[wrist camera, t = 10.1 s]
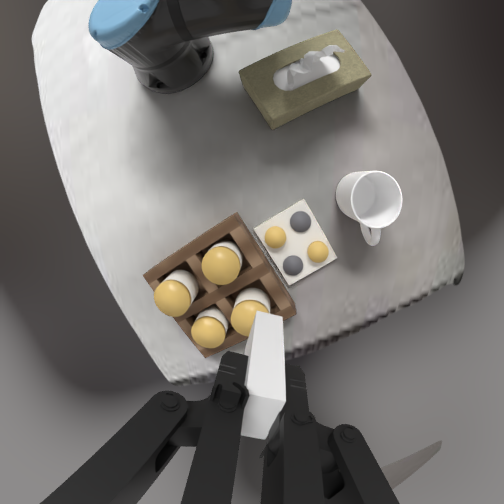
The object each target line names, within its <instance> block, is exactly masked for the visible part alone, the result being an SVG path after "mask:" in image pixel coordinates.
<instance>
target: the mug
mask: <svg viewBox="0 0 504 504" xmlns="http://www.w3.org/2000/svg"><path fill="white" fill-rule="evenodd" d="M336 200H337V204H338V206H339V208H340V209H341V211H342V212H343V213H344V214H345V215H347V216H348V217H350V218H352V219H354V220H356V221H358V222H359V223H360V227H361V231H362V234H363V237H364V239H365V240H366V242H367V243H368V244H369V245H371V246H375V245H377V244H378V243H379V240H380V236H381V228H384V227H386V226H388V225H390V224H391V223H393V222H394V221H395V220H396V218H397V217H398V215H399V213H400V211H401V207H402V193H401V190H400V187H399V185H398V183H397V182H396V181H395V179H394V178H393V177H391V176H390V175H389V174H387V173H385V172H381V171H363V172H353V173H350V174H348V175H346V176H345V177H344V178H342V180H341V181H340V182H339V184H338V186H337V189H336ZM369 227H370V228H371V234H370V231H369Z"/></svg>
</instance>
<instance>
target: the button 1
mask: <svg viewBox="0 0 504 504" xmlns="http://www.w3.org/2000/svg"><path fill="white" fill-rule="evenodd" d="M198 291H199V285H198V281H197V279H196V278H195V277H194V275H193V274H191V273H190V272H188V271H185V270H176V271H174V272H172V273H171V274H170V275H169V276H168V277H167V278H166V279H165V280H164V281H163V282H162V283H161V284H160V285H159V286H158V287H157V288H156V290H155V292H154V300H155V303H156V305H157V307H158V308H159V310H160V311H162V312H163V313H164V314H166V315H168V316H172V317H178V316H181V315H183V314H184V313H185V312H186V311H187V310H188V308H189V307H190V305H191V303H192V302H193V300H194V299H195V297H196V296H197V294H198Z"/></svg>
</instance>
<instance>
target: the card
mask: <svg viewBox="0 0 504 504" xmlns="http://www.w3.org/2000/svg"><path fill="white" fill-rule="evenodd" d="M254 231H255V232H256V234H257V235H258V237H259V238H260V240H261V242H262V243H263V245H264V246H265V248H266V249H267V251H268V253H269V254H270V256H271V257H272V259H273V261H274V262H275V264H276V265H277V267H278V269H279V270H280V272H281V273H282V275H283V277H284V278H285V280H286V281H287V283H288V285H291V284H293V283H295V282H296V281H298V280H300V279H302V278H303V277H305V276H307V275H309V274H310V273H312V272H314V271H316V270H317V269H319V268H321V267H323V266H324V265H326V264H328V263H330V262H331V261H333V260H335V259H336V258H337V256H336V254H335V253H334V251H333V249H332V247H331V245H330V243H329V242H328V240H327V238H326V236H325V234H324V233H323V231H322V229H321V227H320V226H319V224H318V222H317V220H316V219H315V217H314V215H313V213H312V212H311V210H310V208H309V206H308V205H307V203H306V201H305V200H304V199H302V200H300V201H299V202H297V203H295V204H294V205H292V206H290V207H288V208H287V209H285V210H283V211H282V212H280V213H278V214H277V215H275V216H274V217H272V218H270V219H269V220H267V221H265V222H264V223H262V224H260V225H259V226H257V227H255V228H254Z"/></svg>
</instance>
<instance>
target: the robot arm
mask: <svg viewBox="0 0 504 504" xmlns="http://www.w3.org/2000/svg"><path fill="white" fill-rule="evenodd" d="M291 4H292V0H99V1H98V2H97V3H96V5H95V7H94V8H93V10H92V13H91V15H90V19H89V32H90V34H91V36H92V37H93V38H94V39H95V40H96V41H97V42H99V43H100V45H101V46H102V47H103V48H105V49H107V50H109V51H111V52H112V53H114V54H115V55H117V56H118V57H120V58H122V59H123V60H125V61H126V62H128V63H129V64H131V65H132V66H133V68H134V71H135V74H136V76H137V78H138V80H139V81H140V82H141V83H142V84H143V85H144V86H146V87H147V88H149V89H150V90H152V91H155V92H158V93H174V92H178V91H181V90H184V89H186V88H188V87H190V86H192V85H193V84H195V83H196V82H197V81H198V80H199V79H201V78H202V77H203V75H204V74H205V73H206V72H207V70H208V68H209V67H210V65H211V62H212V58H213V47H212V44H211V42H210V40H209V38H208V37H209V36H214V35H219V34H224V33H230V32H237V31H243V30H256V29H260V28H263V27H271V26H277V25H279V24H281V23H283V22H284V21H285V20H286V19H287V17H288V15H289V12H290V9H291ZM268 434H269V436H268V437H269V438H268V443H267V444H266V446H265V448H264V450H263V451H262V453H261V455H260V458H262V457H263V456H264V466H263V478H262V492H261V504H399V502H398V500H397V498H396V496H395V494H394V492H393V491H392V489H391V487H390V485H389V483H388V481H387V480H386V478H385V476H384V474H383V472H382V470H381V468H380V467H379V465H378V463H377V461H376V459H375V458H374V456H373V454H372V452H371V450H370V448H369V446H368V445H367V443H366V441H365V439H364V437H363V436H362V434H361V432H360V431H359V430H358V429H357V428H355V427H354V426H351V425H348V424H342V425H339V426H337V427H336V428H335V429H332V428H329V427H326V426H323V425H321V424H319V423H318V422H316V420H315V417H314V416H313V414H312V413H311V412H309V408H308V399H307V390H306V383H305V374H304V373H303V371H302V369H301V368H300V367H299V366H295V365H290V364H285V358H284V336H283V317H281V316H277V315H273V314H269V313H265V312H261V311H256V314H255V318H254V321H253V324H252V328H251V331H250V334H249V337H248V341H247V344H246V347H245V352H244V355H242V354H238V353H234V352H230V351H228V352H226V353H225V354H224V355H223V356H222V358H221V362H220V366H219V369H218V373H217V376H216V380H215V383H214V386H213V389H212V393H211V395H210V396H209V397H208V398H206V399H204V400H201V401H186V400H185V398H184V397H183V396H181V395H180V394H179V393H176V392H173V391H162V392H158V393H157V394H155V395H154V396H153V397H152V398H151V399H150V400H149V401H148V402H147V403H146V404H145V405H144V406H143V407H142V408H141V409H140V410H139V411H138V412H137V413H136V414H135V415H134V416H133V417H132V418H131V419H130V420H129V421H128V422H127V423H126V424H125V425H124V426H123V427H122V428H121V429H120V430H119V431H118V432H117V433H116V434H115V435H114V436H113V437H112V438H111V439H110V440H109V441H108V442H107V443H105V445H103V446H102V447H101V448H100V449H99V450H98V451H97V452H96V453H95V454H94V455H93V456H92V457H91V458H90V459H89V460H88V461H86V463H84V464H83V465H82V466H81V467H80V468H79V469H78V470H77V471H76V472H75V473H74V474H73V475H71V476H70V477H69V478H68V479H67V480H66V481H65V482H64V483H63V484H62V485H61V486H60V487H58V488H57V489H56V490H55V491H54V492H53V493H52V494H50V496H48V497H47V498H46V499H45V500H44V501H43V502H41V503H40V504H137V502H138V501H139V500H140V499H141V497H142V496H143V495H144V494H145V493H146V491H147V490H148V489H149V487H150V486H151V485H152V484H153V482H154V481H155V480H156V479H157V477H158V476H159V475H160V473H161V472H162V471H163V469H164V468H165V467H166V466H167V464H168V463H169V461H170V460H171V459H172V458H173V456H174V455H175V454H176V452H177V451H178V449H179V448H180V447H181V446H193V447H195V446H196V451H195V454H194V458H193V461H192V465H191V469H190V473H189V476H188V479H187V483H186V487H185V491H184V494H183V498H182V501H181V504H231V499H232V492H233V485H234V478H235V471H236V465H237V458H238V450H239V443H240V436H241V435H243V436H248V437H254V438H259V439H266V437H267V435H268Z"/></svg>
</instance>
